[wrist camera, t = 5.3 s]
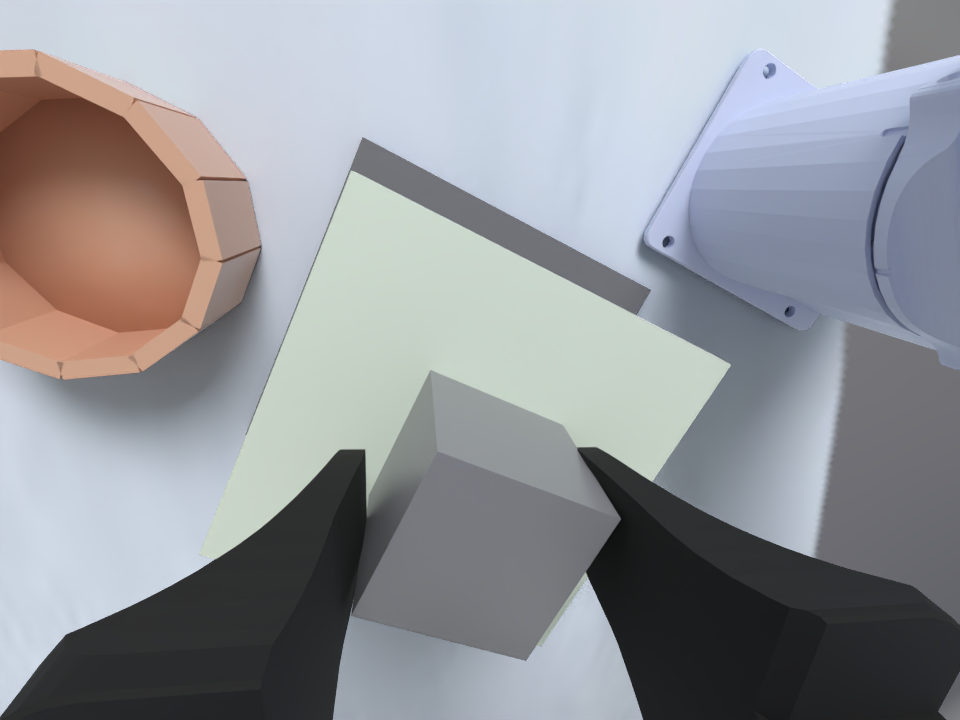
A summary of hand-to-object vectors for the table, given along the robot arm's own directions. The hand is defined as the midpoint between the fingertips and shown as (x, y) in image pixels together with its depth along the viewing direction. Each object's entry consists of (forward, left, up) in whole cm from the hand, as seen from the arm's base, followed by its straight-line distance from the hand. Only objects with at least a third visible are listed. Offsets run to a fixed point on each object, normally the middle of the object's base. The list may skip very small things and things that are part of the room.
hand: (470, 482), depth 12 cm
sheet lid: (0, 0, -2) cm, 2 cm away
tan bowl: (+13, 0, -9) cm, 16 cm away
